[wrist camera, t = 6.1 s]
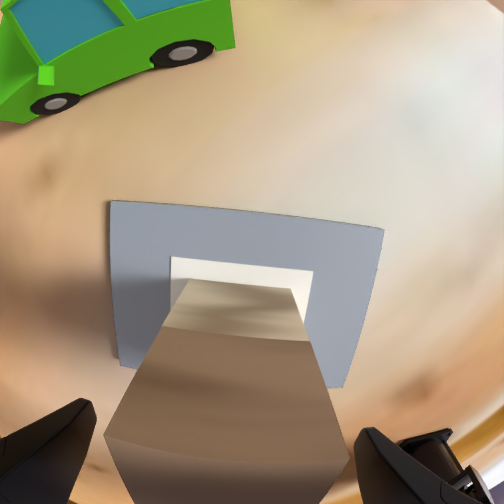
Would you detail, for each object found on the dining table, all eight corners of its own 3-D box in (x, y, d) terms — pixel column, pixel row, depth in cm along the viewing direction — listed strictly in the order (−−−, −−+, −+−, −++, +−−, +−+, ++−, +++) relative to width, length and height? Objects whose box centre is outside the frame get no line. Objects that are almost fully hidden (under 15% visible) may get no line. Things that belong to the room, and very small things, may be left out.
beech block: (290, 288, 14) (309, 340, 9) (276, 369, 15) (284, 433, 10) (190, 278, 14) (161, 326, 9) (188, 360, 15) (168, 422, 10)
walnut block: (285, 433, 10) (296, 531, 6) (169, 422, 10) (141, 516, 5) (310, 341, 9) (350, 458, 4) (162, 325, 9) (103, 435, 4)
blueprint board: (379, 228, 14) (385, 230, 13) (340, 382, 16) (343, 388, 16) (115, 200, 14) (109, 201, 13) (123, 360, 16) (119, 366, 15)
